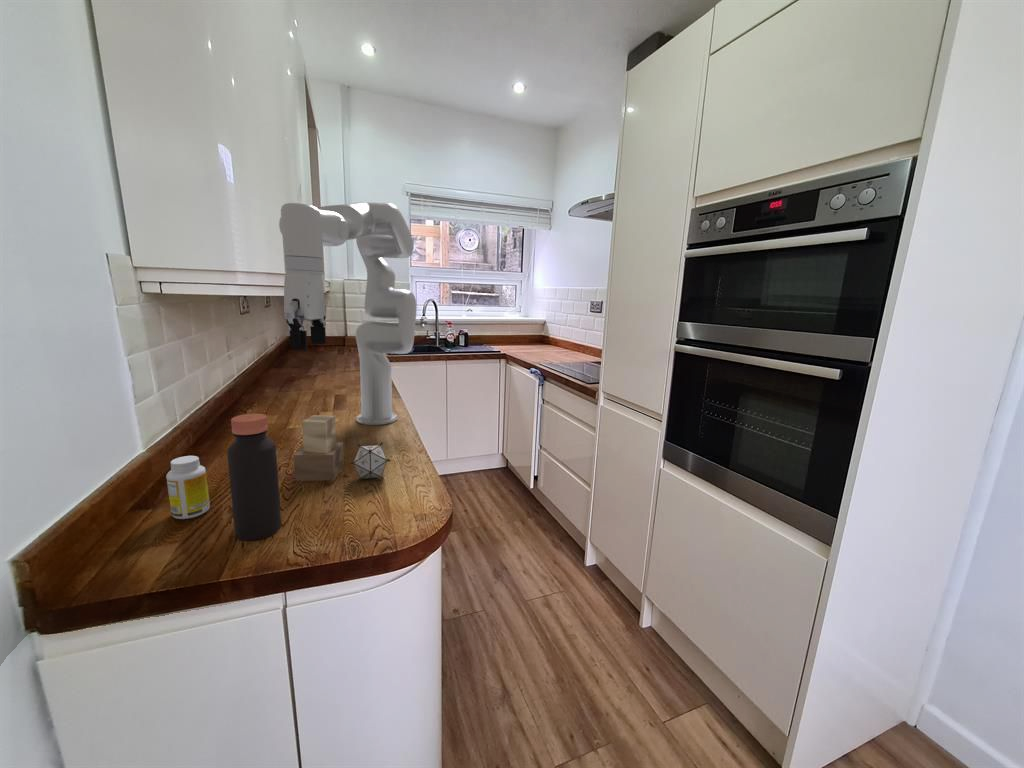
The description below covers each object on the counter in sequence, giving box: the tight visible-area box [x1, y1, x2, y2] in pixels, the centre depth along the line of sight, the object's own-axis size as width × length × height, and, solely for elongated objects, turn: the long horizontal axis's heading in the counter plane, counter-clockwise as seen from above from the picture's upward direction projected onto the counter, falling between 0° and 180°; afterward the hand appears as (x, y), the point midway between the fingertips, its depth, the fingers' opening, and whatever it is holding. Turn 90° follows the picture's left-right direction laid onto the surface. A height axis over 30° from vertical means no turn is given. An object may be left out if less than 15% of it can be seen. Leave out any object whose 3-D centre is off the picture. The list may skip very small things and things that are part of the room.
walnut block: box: [293, 441, 345, 482], centre depth 94 cm, size 8×8×6 cm
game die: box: [349, 441, 391, 483], centre depth 92 cm, size 9×8×10 cm
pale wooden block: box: [301, 414, 337, 453], centre depth 92 cm, size 5×5×7 cm
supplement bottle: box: [165, 455, 211, 520], centre depth 74 cm, size 6×6×10 cm
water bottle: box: [226, 413, 282, 542], centre depth 69 cm, size 7×7×20 cm
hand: (309, 346), depth 92 cm, fingers open, 9 cm apart
